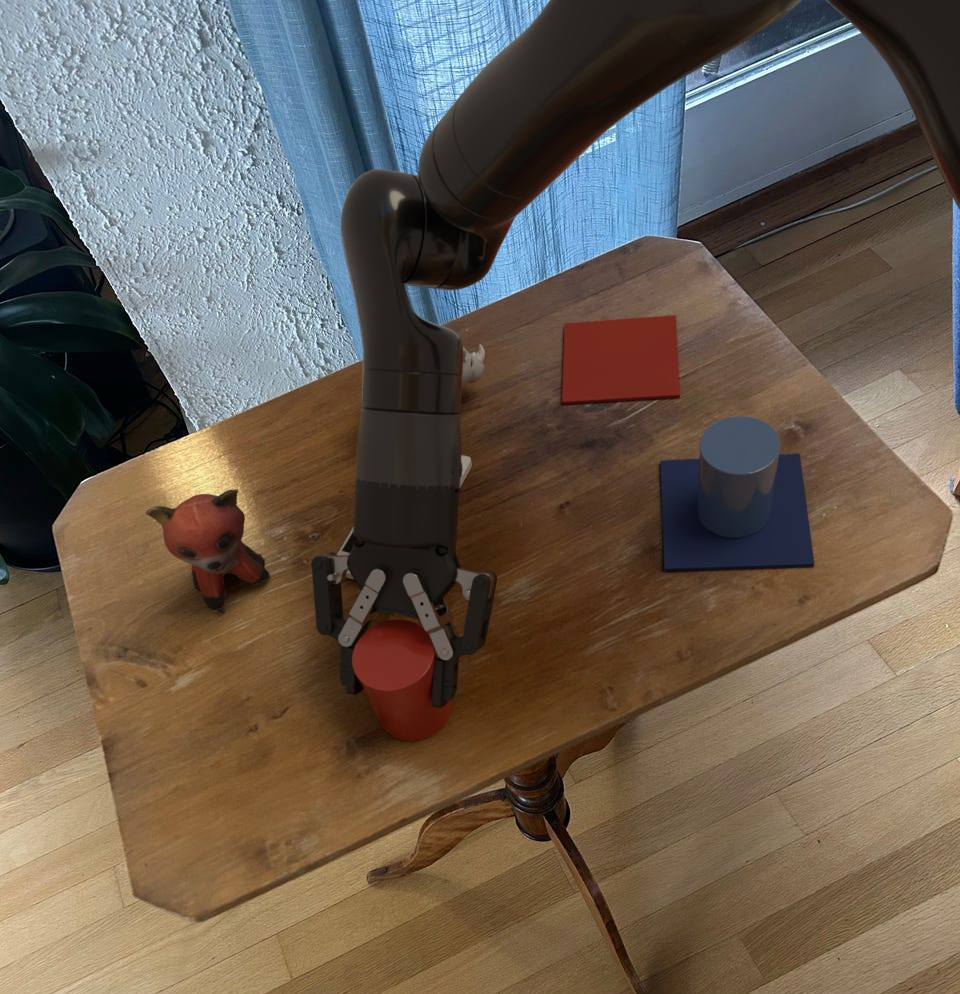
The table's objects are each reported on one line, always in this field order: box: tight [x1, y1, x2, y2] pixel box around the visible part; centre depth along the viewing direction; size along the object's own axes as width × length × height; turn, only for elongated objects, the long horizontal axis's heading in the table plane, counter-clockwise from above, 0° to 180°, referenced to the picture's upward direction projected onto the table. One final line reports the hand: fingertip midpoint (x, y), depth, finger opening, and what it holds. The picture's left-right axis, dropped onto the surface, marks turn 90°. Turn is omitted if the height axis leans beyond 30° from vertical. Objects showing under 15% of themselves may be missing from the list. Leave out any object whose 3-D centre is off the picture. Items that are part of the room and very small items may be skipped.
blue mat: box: [660, 453, 815, 572], centre depth 87 cm, size 12×12×1 cm
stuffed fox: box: [145, 488, 271, 615], centre depth 88 cm, size 8×11×12 cm
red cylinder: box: [352, 618, 454, 742], centre depth 79 cm, size 6×6×8 cm
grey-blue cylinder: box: [697, 415, 781, 538], centre depth 84 cm, size 6×6×8 cm
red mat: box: [561, 314, 681, 406], centre depth 99 cm, size 11×11×1 cm
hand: (397, 697), depth 77 cm, fingers closed on red cylinder, 6 cm apart
